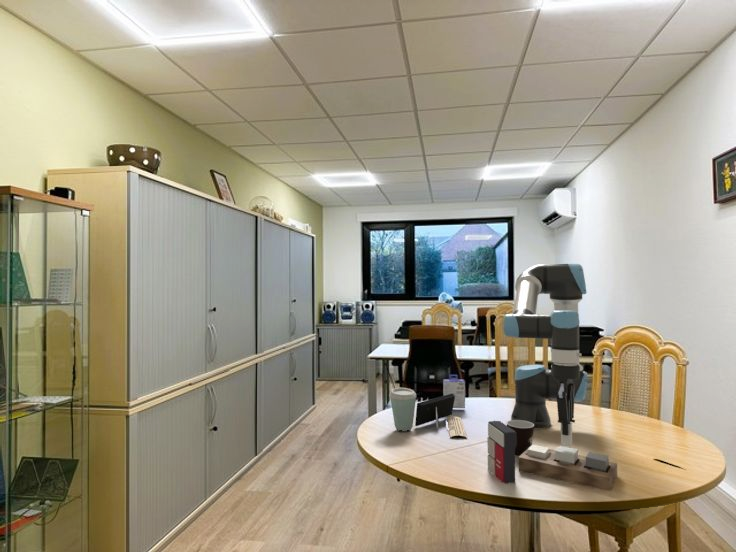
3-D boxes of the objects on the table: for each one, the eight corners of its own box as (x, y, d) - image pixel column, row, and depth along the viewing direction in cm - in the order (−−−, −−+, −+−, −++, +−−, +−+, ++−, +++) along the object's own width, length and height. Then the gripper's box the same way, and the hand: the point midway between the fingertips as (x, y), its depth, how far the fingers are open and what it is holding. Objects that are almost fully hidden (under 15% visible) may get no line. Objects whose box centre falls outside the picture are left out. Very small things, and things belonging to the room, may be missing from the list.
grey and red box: (486, 471, 135) (485, 421, 135) (499, 470, 135) (499, 420, 136) (502, 487, 124) (502, 432, 124) (517, 486, 124) (516, 432, 125)
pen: (696, 480, 128) (696, 474, 128) (649, 462, 141) (649, 457, 141) (700, 479, 129) (699, 473, 129) (652, 461, 142) (652, 456, 142)
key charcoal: (585, 475, 125) (585, 457, 125) (589, 469, 129) (589, 451, 129) (605, 479, 122) (605, 461, 122) (609, 473, 126) (608, 455, 126)
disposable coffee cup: (422, 428, 175) (422, 389, 176) (406, 435, 167) (406, 394, 167) (400, 422, 182) (400, 385, 182) (383, 429, 174) (383, 390, 174)
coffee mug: (521, 461, 142) (520, 429, 142) (501, 452, 150) (500, 422, 150) (546, 454, 147) (546, 424, 147) (526, 446, 155) (526, 417, 155)
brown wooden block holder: (518, 474, 132) (518, 457, 133) (531, 461, 142) (531, 445, 142) (610, 496, 118) (609, 477, 118) (617, 480, 128) (617, 463, 128)
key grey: (555, 468, 130) (555, 450, 130) (560, 462, 134) (559, 445, 134) (574, 472, 127) (573, 454, 127) (578, 466, 131) (578, 449, 131)
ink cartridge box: (464, 405, 207) (464, 374, 208) (465, 409, 202) (465, 376, 202) (443, 405, 209) (442, 373, 209) (443, 408, 203) (443, 376, 203)
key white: (527, 466, 134) (527, 449, 134) (532, 460, 138) (532, 444, 138) (544, 470, 131) (544, 453, 131) (549, 464, 135) (549, 448, 135)
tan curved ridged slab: (467, 440, 163) (467, 435, 163) (447, 439, 164) (447, 435, 164) (461, 420, 187) (461, 416, 187) (444, 420, 188) (444, 416, 188)
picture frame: (452, 415, 193) (430, 408, 197) (456, 394, 192) (434, 387, 196) (436, 433, 174) (412, 425, 178) (441, 409, 172) (416, 401, 177)
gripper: (573, 368, 123) (575, 455, 123) (584, 361, 134) (585, 441, 133) (545, 365, 128) (546, 449, 127) (557, 359, 138) (558, 436, 137)
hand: (566, 445), depth 130 cm, fingers closed
